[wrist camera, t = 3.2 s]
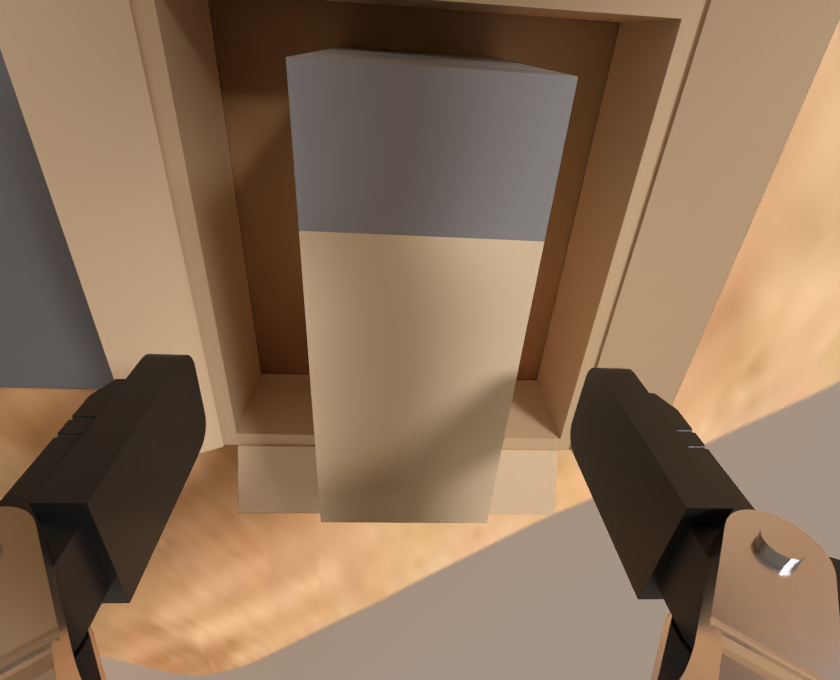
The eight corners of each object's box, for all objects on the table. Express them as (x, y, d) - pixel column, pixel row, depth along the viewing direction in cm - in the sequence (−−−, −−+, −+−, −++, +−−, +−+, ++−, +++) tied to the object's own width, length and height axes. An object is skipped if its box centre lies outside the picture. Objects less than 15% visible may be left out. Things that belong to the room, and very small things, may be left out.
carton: (756, -101, 14) (923, -163, 10) (585, 431, 25) (626, 516, 21) (62, -165, 13) (-117, -272, 8) (202, 424, 24) (157, 514, 19)
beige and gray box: (492, 56, 16) (578, 76, 8) (456, 356, 22) (486, 522, 15) (340, 46, 16) (285, 56, 8) (347, 353, 22) (320, 522, 14)
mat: (42, -54, 14) (34, -57, 14) (164, 385, 23) (160, 390, 22) (-258, -78, 14) (-274, -81, 13) (-18, 381, 22) (-24, 386, 22)
